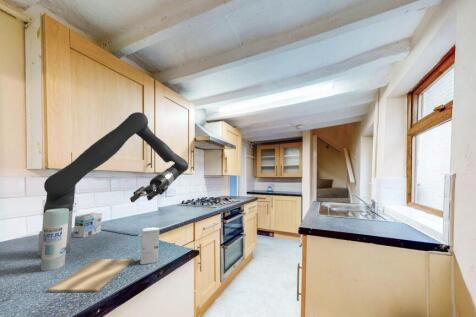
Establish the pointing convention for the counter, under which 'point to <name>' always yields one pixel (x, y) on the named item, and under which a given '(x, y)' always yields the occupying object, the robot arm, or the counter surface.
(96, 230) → the light bulb box
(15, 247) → the counter surface
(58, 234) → the spray paint can
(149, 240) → the skincare box
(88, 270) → the wooden board
